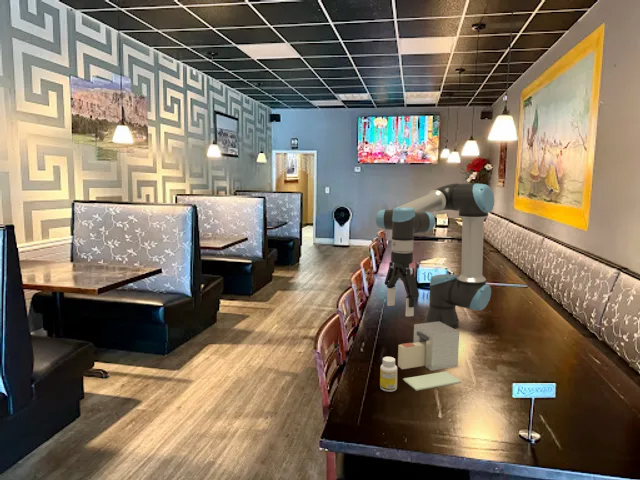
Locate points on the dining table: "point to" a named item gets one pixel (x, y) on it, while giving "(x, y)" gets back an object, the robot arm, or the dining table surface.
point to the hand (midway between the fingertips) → (399, 310)
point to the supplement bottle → (388, 374)
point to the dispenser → (438, 344)
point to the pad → (431, 380)
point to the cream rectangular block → (411, 355)
